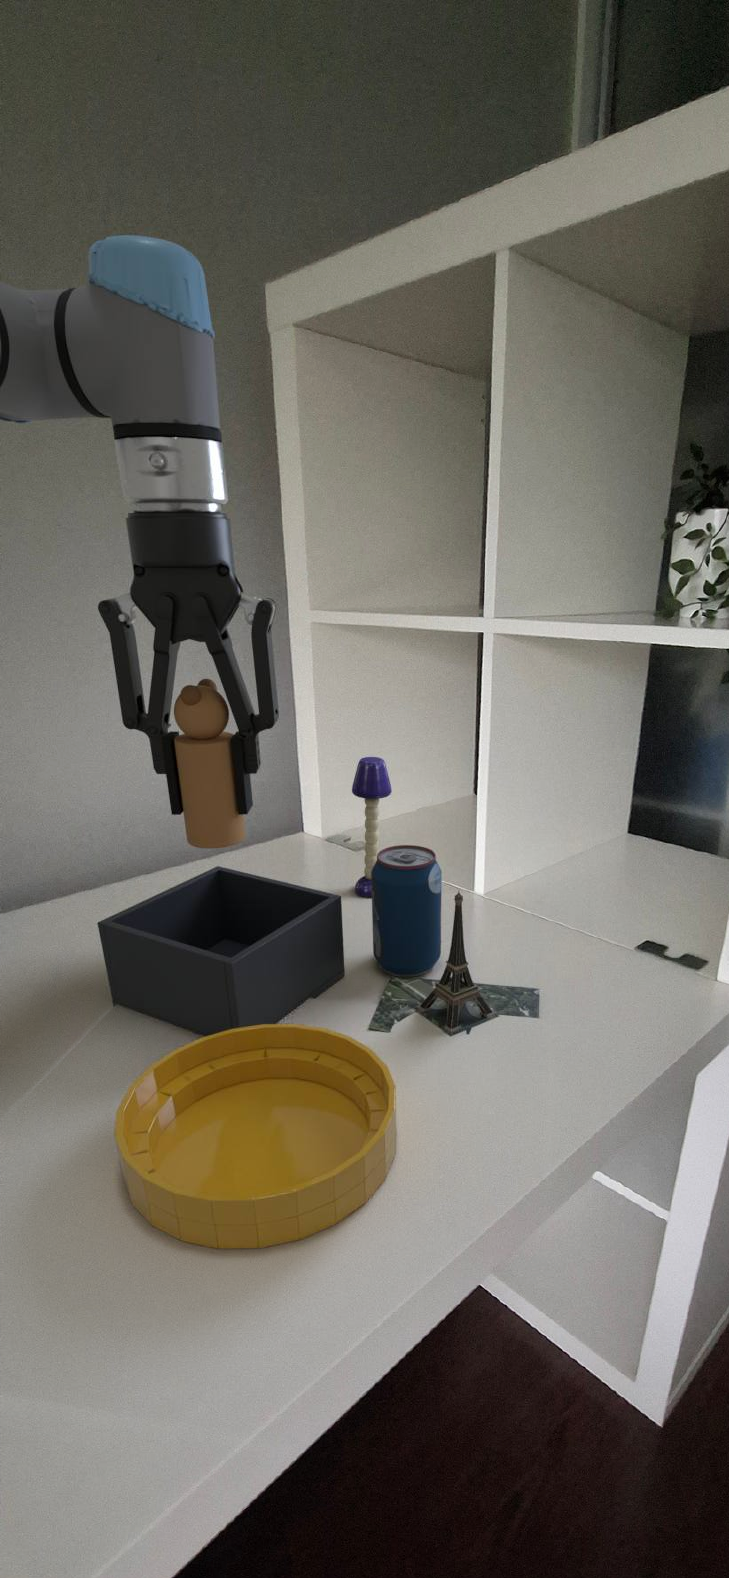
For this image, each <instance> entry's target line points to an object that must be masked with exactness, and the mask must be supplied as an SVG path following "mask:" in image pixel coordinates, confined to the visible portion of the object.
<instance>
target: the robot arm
mask: <svg viewBox="0 0 729 1578" xmlns="http://www.w3.org/2000/svg"><path fill="white" fill-rule="evenodd" d="M87 259H88V273H87V277H88V284H89V285H81V286H78V287H71V288H66V289H65V288H62V289H34V290H33V289H22V288H18V287H15V286H13V285H10V284H8V283H5V282H3V281H0V421H1V422H12V423H16V424H18V425H19V424H20V425H21V424H29V423H31V422H32V421H47V420H48V421H49V420H51V421H52V420H67V419H86V418H100V419H109V418H110V420H111V426H112V430H113V438H114V446H115V447H114V448H115V454H116V459H117V466H118V472H119V473H118V474H119V479H120V487H121V492H122V499H123V501H124V502H125V503H126V504H128V505H132V509H133V512H128V513H127V517H125V524H126V530H127V531H126V532H127V537H128V543H129V544H128V545H129V550H130V551H129V552H130V557H131V564H132V570H133V578H132V582H131V585H130V588H129V592H128V593H125V594H123V595H120V596H117V597H114V598H107V599H104V600H101V601H99V602H98V604H97V610H98V613H99V615H100V617H101V619H102V621H103V623H104V625H105V627H106V629H107V631H108V633H109V639H110V645H111V653H112V658H113V667H114V672H115V679H116V686H117V687H116V688H117V693H118V694H117V695H118V700H119V706H120V712H121V713H120V714H121V719H122V724H123V726H124V728H126V729H127V730H136V731H139V732H142V733H144V734H145V735H146V736H147V737H148V741H149V747H150V753H151V760H152V765H153V770H154V772H155V773H156V775H165V777H166V784H167V791H168V799H169V804H170V805H169V806H170V813H171V815H172V816H174V815H175V816H181V815H182V814H183V805H182V798H181V791H180V783H179V776H178V768H177V761H176V754H175V746H174V738H175V737H177V736H179V735H180V732H179V731H175V730H174V731H173V730H172V731H169V729H170V727H171V725H172V723H170V718H171V712H172V704H173V695H174V686H175V678H176V671H177V661H178V653H179V650H180V647H181V643H182V642H185V641H188V640H190V641H195V642H199V643H205V646H206V649H207V652H208V653H209V654H210V656H211V657H212V661H213V663H214V666H215V669H216V672H217V674H218V677H219V680H220V683H221V686H222V688H223V691H224V693H225V697H226V699H227V702H228V705H229V708H230V711H231V714H232V716H233V719H234V722H235V724H236V728H237V731H236V732H235V733H233V734H234V735H233V736H232V737H231V748H232V758H233V767H234V777H235V786H236V796H237V805H238V814H243V815H248V814H249V812H250V810H251V809H252V808H253V805H254V802H253V791H252V780H251V775H257V773H258V772H259V770H260V768H261V765H262V760H261V749H260V748H261V747H260V738H259V734H260V732H264V731H266V730H271V729H273V728H274V727H275V725H276V724H277V723H278V721H279V720H280V719H279V718H280V711H279V701H278V700H279V699H278V688H277V677H276V666H275V658H274V657H275V656H274V646H273V645H274V644H273V633H272V629H273V624H274V621H275V617H276V612H277V609H278V605H277V602H276V601H275V600H274V599H272V598H271V597H267V598H262V597H259V596H257V595H253V594H250V593H248V592H245V591H244V588H243V586H242V584H241V583H240V581H239V580H238V577H237V575H236V571H235V561H234V549H233V541H232V540H233V539H232V528H231V519H230V518H229V517H228V514H227V513H223V512H222V507H221V506H223V505H226V504H227V503H228V502H229V496H228V495H229V494H228V483H227V474H226V473H227V472H226V465H225V464H226V463H225V454H224V443H223V437H222V432H221V422H220V409H219V408H220V407H219V398H218V397H219V395H218V384H217V383H218V382H217V372H216V371H217V370H216V359H215V357H216V356H215V347H214V346H215V345H214V340H215V339H216V333H215V331H214V329H213V325H212V318H211V311H210V305H209V298H208V291H207V285H206V278H205V272H204V269H203V266H202V264H201V263H200V261H199V260H198V258H197V257H196V256H195V255H194V254H193V253H192V252H191V251H189V250H187V249H186V248H185V247H183V246H182V245H179V244H177V243H175V242H173V241H169V240H166V239H162V238H158V237H157V238H156V237H152V236H144V235H135V234H133V235H132V234H130V235H129V234H128V235H126V234H124V235H123V234H122V235H112V236H107V237H106V238H105V239H102V240H96V241H95V242H94V243H92V245H91V246H90V248H89V251H88V257H87ZM239 607H241V609H242V610H243V611H244V619H245V621H246V623H247V624H248V625H251V630H250V631H251V633H250V637H251V649H252V657H253V658H252V659H253V668H254V678H255V686H256V687H255V688H256V699H257V707H258V713H257V714H256V712H255V709H254V706H253V703H252V701H251V697H250V695H249V692H248V688H247V686H246V684H245V680H244V677H243V674H242V672H241V668H240V666H239V662H238V660H237V657H236V654H235V651H234V649H233V648H234V647H233V642H232V638H231V636H230V632H229V629H228V626H229V625H230V623H231V621H232V620H233V617H234V616H235V614H236V612H237V611H238V609H239ZM137 608H138V610H139V611H140V612H141V614H142V615H143V616H144V617H145V618H146V619H147V621H148V622H149V623H150V624H151V626H153V628H154V633H153V634H154V635H153V644H152V650H153V661H152V669H151V678H150V679H151V680H150V688H149V696H148V697H149V698H148V708H147V710H146V703H145V695H144V689H143V682H142V673H141V667H140V660H139V652H138V644H137V637H136V632H135V631H136V630H135V628H134V623H135V622H136V619H137V616H136V615H137V614H136V609H137ZM146 711H147V712H146Z"/></svg>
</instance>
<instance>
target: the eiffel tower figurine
mask: <svg viewBox="0 0 729 1578" xmlns="http://www.w3.org/2000/svg"><path fill="white" fill-rule="evenodd" d="M463 898H464V896H463V895H462V894H461V892H460V891H458V892H457V893H456V894H455V895H454V898H453V900H454V914H453V915H454V916H453V923H452V925H453V926H452V934H451V941H450V942H451V943H450V949H449V954H448V958H447V960H446V961H445V963H446V966H445V968H444V970H443V972H442V975H441V977H440V979H435V978H420V977H419V978H417V977H400V976H390V977H389V978H388V981H387V983H386V986H385V987H384V990H383V993H382V995H381V998H380V999H379V1003H378V1005H377V1007H376V1009H375V1012H374V1014H373V1017H372V1019H371V1021H370V1023H369V1025H368V1029H371V1030H375V1031H378V1032H379V1031H381V1032H385V1033H391V1032H392V1028H393V1027H394V1026H395V1025H396V1024H398V1023H400V1022H401V1021H403V1020H405V1019H406V1018H408V1017H410V1016H411V1015H413V1014H416V1013H418V1014H419V1015H420V1016H421V1017H423V1018H424V1019H426V1020H427V1021H429V1022H430V1023H431V1024H433V1025H434V1026H435V1027H437V1028H438V1029H439V1030H440V1031H442V1032H443V1033H445V1034H446V1035H447V1036H449V1037H450V1038H451V1037H453V1036H456V1035H458V1034H461V1033H463V1032H465V1034H466V1035H470V1034H471V1031H472V1028H475V1027H478V1026H480V1025H482V1024H484V1023H486V1022H489V1021H491V1020H494V1019H497V1018H498V1017H500V1016H508V1017H519V1018H531V1019H540V991H541V990H540V988H535V987H527V986H525V987H524V986H512V985H502V984H501V985H499V984H489V983H479V982H474V981H473V979H472V976H471V974H470V970H469V967H468V966H469V962H468V961H467V957H466V951H465V950H466V949H465V941H464V925H463V924H464V921H463V902H464V899H463Z"/></svg>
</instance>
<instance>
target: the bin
mask: <svg viewBox="0 0 729 1578" xmlns="http://www.w3.org/2000/svg"><path fill="white" fill-rule="evenodd" d="M342 906H343V905H342V896H341V895H339V894H335V893H331V892H327V891H323V890H319V889H315V888H310V887H306V886H302V885H297V884H293V883H288V882H286V881H282V880H277V879H273V878H269V877H265V876H262V875H257V874H252V873H248V872H244V871H240V870H237V869H232V868H228V867H223V866H218V865H217V866H215V867H213V868H211V869H209V870H206V871H204V872H202V873H200V874H197V875H196V876H193V877H192V878H189V879H187V880H185V881H182V882H181V883H179V884H176V885H174V886H172V887H170V888H168V889H166V890H163V891H161V892H159V893H157V894H155V895H153V896H151V897H149V898H147V899H145V900H142V901H140V902H138V903H136V904H134V905H132V906H129V907H128V908H125V909H123V910H121V911H119V912H117V913H114V914H113V915H110V916H108V917H106V918H104V919H101V920H100V921H97V923H96V924H97V928H98V933H99V934H98V935H99V938H100V944H101V949H102V954H103V959H104V964H105V969H106V974H107V981H108V985H109V990H110V996H111V1000H112V1006H113V1007H115V1006H116V1005H118V1006H120V1007H123V1008H126V1009H128V1010H131V1011H134V1012H137V1013H139V1014H141V1015H145V1016H147V1017H151V1018H153V1019H156V1020H158V1021H161V1022H164V1023H167V1024H169V1025H171V1026H175V1027H177V1028H179V1029H183V1030H186V1031H188V1032H191V1033H194V1034H197V1035H199V1036H202V1037H206V1036H209V1035H213V1034H216V1033H219V1032H223V1031H226V1030H230V1029H234V1028H241V1027H248V1026H255V1025H262V1024H279V1022H281V1021H282V1020H283V1019H284V1018H286V1017H287V1016H289V1015H290V1014H292V1012H294V1011H295V1010H296V1009H298V1008H299V1007H300V1006H301V1005H303V1004H304V1003H306V1002H307V1001H308V1000H310V999H316V998H317V997H319V996H320V995H321V994H323V993H324V992H325V991H326V990H328V989H329V988H330V987H332V986H333V985H334V984H336V983H337V982H339V981H340V980H341V979H343V977H345V976H346V972H345V951H344V950H345V948H344V929H343V928H344V927H343V909H342V908H343V907H342Z"/></svg>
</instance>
